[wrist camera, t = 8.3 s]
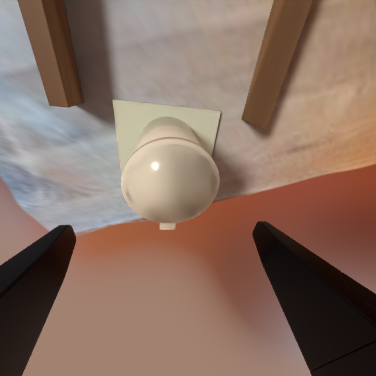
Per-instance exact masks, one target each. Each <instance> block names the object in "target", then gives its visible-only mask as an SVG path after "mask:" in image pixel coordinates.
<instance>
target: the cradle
mask: <svg viewBox="0 0 376 376" xmlns="http://www.w3.org/2000/svg"><path fill="white" fill-rule="evenodd" d="M312 1H313V0H274V2H273V6H272V9H271V13H270V17H269V20H268V24H267V28H266V31H265V35H264V39H263V42H262V46H261V50H260V53H259V57H258V61H257V64H256V68H255V72H254V75H253V79H252V83H251V86H250V90H249V93H248V97H247V101H246V104H245V108H244V112H243V115H242V119H243V120H245V121H247V122H249V123H251V124H253V125H255V126H264V127H267V126H268V123H269V121H270V118H271V115H272V112H273V109H274V107H275V104H276V101H277V98H278V96H279V93H280V90H281V87H282V85H283V82H284V79H285V76H286V73H287V71H288V68H289V65H290V62H291V60H292V57H293V54H294V51H295V49H296V46H297V43H298V40H299V37H300V35H301V32H302V29H303V26H304V24H305V21H306V18H307V15H308V13H309V10H310V7H311V4H312ZM18 3H19V7H20V10H21V13H22V17H23V20H24V23H25V26H26V30H27V33H28V36H29V40H30V43H31V46H32V49H33V53H34V56H35V59H36V63H37V66H38V69H39V72H40V76H41V79H42V82H43V86H44V89H45V92H46V95H47V99H48V102H49V105H50V106H58V107H71V106H74V105H77V104H81V103H84V100H83V95H82V90H81V85H80V80H79V76H78V71H77V66H76V61H75V56H74V51H73V46H72V41H71V36H70V31H69V26H68V21H67V16H66V11H65V6H64V1H63V0H18Z"/></svg>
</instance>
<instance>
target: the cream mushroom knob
mask: <svg viewBox="0 0 376 376" xmlns="http://www.w3.org/2000/svg"><path fill="white" fill-rule="evenodd" d="M219 185H220V177H219V172H218V168H217V166H216V164H215V162H214V161H213V159H212V158H211V156H210V155H209V153H208V152H207V151H206V150H205V149H204V148H203V147H201V145H200V143H199V141H198V140H197V138H196V136H195V135H194V133H193V131H192V130H191V128H190V127H189V126H188V125H187V124H186V123H185V122H183V121H182V120H180V119H178V118H174V117H159V118H156V119H154V120H152V121H150V122H149V123H148V124H147V125H146V126H145V127H144V129H143V130H142V132H141V134H140V137H139V140H138V142H137V145H136V148H135V151H134V153H133V154H132V155H131V157H130V158H129V159H128V161H127V163H126V166H125V168H124V171H123V174H122V179H121V188H122V193H123V196H124V198H125V200H126V202H127V203H128V205H129V206H130V207H131V208H132V209H133V210H134V211H135V212H136V213H137V214H139V215H140V216H142V217H144V218H146V219H148V220H151V221H154V222H158V223H160V230H169V229H175V224H176V223H179V222H184V221H187V220H190V219H192V218H195V217H197V216H198V215H200V214H201V213H203V212H204V211H205V210H206V209H207V208H208V207H209V206H210V205H211V204H212V203H213V201H214V200H215V198H216V196H217V193H218V190H219Z"/></svg>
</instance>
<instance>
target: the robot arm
mask: <svg viewBox="0 0 376 376" xmlns="http://www.w3.org/2000/svg"><path fill="white" fill-rule="evenodd" d="M253 238H254V241H255V244H256V247H257V250H258V253H259V256H260V259H261V262H262V264H263V267H264V269H265V271H266V274H267V276H268V278H269V280H270V283H271V285H272V287H273V289H274V292H275V294H276V296H277V298H278V301H279V303H280V305H281V307H282V309H283V312H284V314H285V316H286V319H287V321H288V323H289V325H290V327H291V330H292V332H293V334H294V336H295V339H296V341H297V343H298V345H299V348H300V350H301V352H302V355H303V357H304V359H305V361H306V364H307V366H308V368H309V370H310V373H311V375H312V376H376V294H375V293H374V292H372V291H370V290H369V289H367V288H366V287H364V286H362V285H361V284H359V283H358V282H356V281H355V280H353V279H352V278H350V277H349V276H347V275H346V274H344V273H342V272H341V271H340V270H338V269H337V268H335V267H334V266H332V265H331V264H329V263H328V262H326V261H325V260H323V259H322V258H320V257H319V256H317V255H316V254H314V253H312V252H311V251H310V250H308V249H307V248H305V247H304V246H302V245H301V244H299V243H298V242H296V241H295V240H293V239H292V238H290V237H289V236H287V235H286V234H284V233H283V232H281V231H280V230H278V229H277V228H275V227H274V226H272V225H271V224H269V223H268V222H266V221H259V222H257V224H256V226H255V228H254V230H253ZM75 243H76V236H75V233H74V231H73V228H72V226H71V225H59V226H58V227H56V228H55V229H53V230H52V231H50V232H49V233H48V234H46V235H44V236H43V237H41V238H40V239H39V240H37V241H36V242H34V243H33V244H31V245H30V246H28V247H27V248H25V249H24V250H22V251H21V252H19V253H18V254H17V255H15V256H14V257H12V258H11V259H9V260H8V261H6V262H5V263H3V264H2V265H0V376H22V374H23V372H24V370H25V367H26V365H27V363H28V361H29V358H30V356H31V354H32V351H33V349H34V347H35V345H36V342H37V340H38V337H39V335H40V333H41V331H42V328H43V326H44V324H45V322H46V319H47V317H48V315H49V312H50V310H51V308H52V305H53V303H54V301H55V299H56V296H57V294H58V292H59V289H60V287H61V285H62V283H63V280H64V278H65V275H66V272H67V269H68V266H69V263H70V259H71V256H72V253H73V249H74V247H75Z"/></svg>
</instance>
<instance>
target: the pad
mask: <svg viewBox="0 0 376 376" xmlns="http://www.w3.org/2000/svg"><path fill="white" fill-rule="evenodd" d="M113 108H114V117H115V125H116V134H117V142H118V151H119V159H120V168H121V177H122V174H123V171H124V168H125V166H126V163H127V161H128V159H129V158H130V157H131V155H132V154H133V153H134V151H135V148H136V145H137V142H138V140H139V137H140V134H141V132H142V130H143V129H144V127H145V126H146V125H147V124H148V123H149V122H150V121H152V120H154V119H156V118H159V117H174V118H178V119H180V120H182V121H183V122H185V123H186V124H187V125H188V126H189V127H190V128H191V130H192V131H193V133H194V135H195V136H196V138H197V140H198V141H199V143H200V145H201V147H203V148H204V149H205V150H206V151H207V152H208V153H209V155H210V156H211V157H212V152H213V147H214V142H215V137H216V132H217V127H218V123H219V118H220V113H221V111H215V110H206V109H197V108H188V107H179V106H169V105H160V104H151V103H142V102H133V101H124V100H115V99H113Z"/></svg>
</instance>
